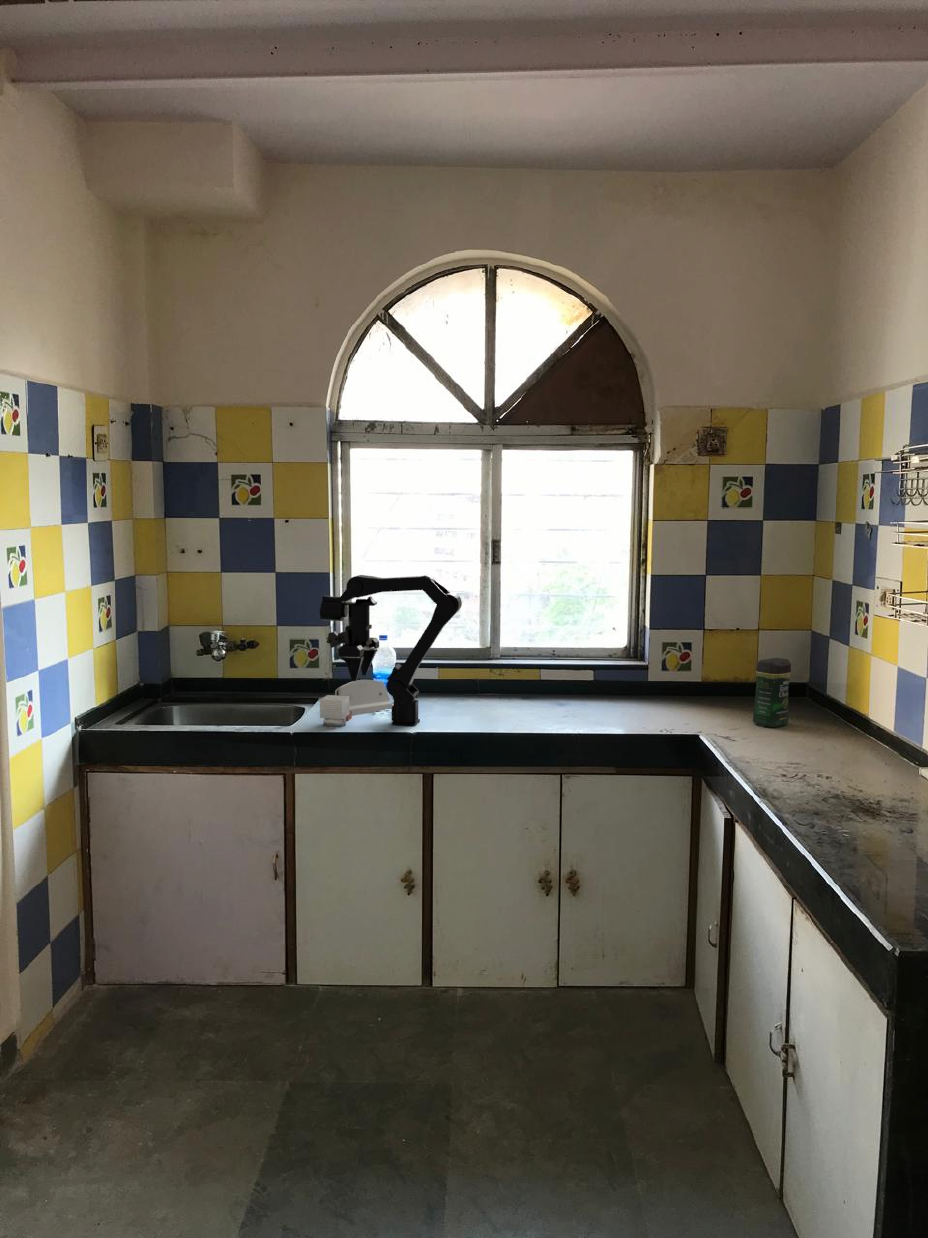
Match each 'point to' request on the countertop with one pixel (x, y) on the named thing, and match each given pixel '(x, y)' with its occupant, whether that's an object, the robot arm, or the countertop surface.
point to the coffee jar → (772, 692)
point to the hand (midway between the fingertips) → (359, 678)
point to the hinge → (365, 696)
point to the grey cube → (334, 707)
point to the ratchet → (337, 721)
